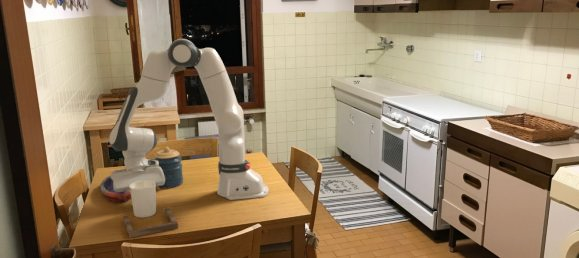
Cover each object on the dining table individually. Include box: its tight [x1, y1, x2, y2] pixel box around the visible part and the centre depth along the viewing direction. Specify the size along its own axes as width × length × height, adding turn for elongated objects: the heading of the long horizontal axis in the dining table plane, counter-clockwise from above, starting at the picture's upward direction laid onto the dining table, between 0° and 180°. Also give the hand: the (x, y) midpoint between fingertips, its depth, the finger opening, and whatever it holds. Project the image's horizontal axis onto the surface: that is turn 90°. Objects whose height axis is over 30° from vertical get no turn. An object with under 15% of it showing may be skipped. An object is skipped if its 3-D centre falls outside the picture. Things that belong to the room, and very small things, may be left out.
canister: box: [152, 146, 184, 189], centre depth 214 cm, size 13×13×18 cm
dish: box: [99, 175, 131, 202], centre depth 206 cm, size 16×31×5 cm, turn 21°
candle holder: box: [129, 180, 157, 219], centre depth 183 cm, size 10×10×12 cm
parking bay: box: [123, 207, 179, 239], centre depth 174 cm, size 16×17×2 cm
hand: (142, 197), depth 187 cm, fingers closed
